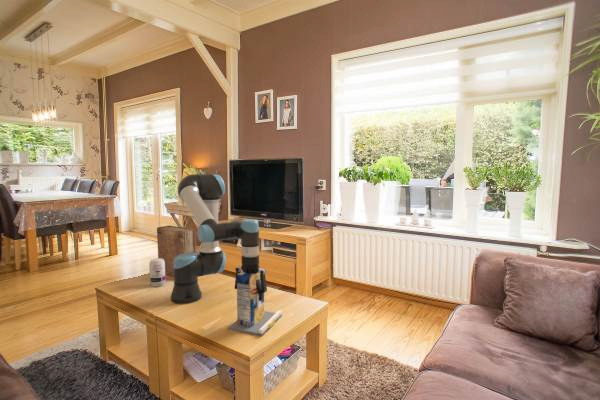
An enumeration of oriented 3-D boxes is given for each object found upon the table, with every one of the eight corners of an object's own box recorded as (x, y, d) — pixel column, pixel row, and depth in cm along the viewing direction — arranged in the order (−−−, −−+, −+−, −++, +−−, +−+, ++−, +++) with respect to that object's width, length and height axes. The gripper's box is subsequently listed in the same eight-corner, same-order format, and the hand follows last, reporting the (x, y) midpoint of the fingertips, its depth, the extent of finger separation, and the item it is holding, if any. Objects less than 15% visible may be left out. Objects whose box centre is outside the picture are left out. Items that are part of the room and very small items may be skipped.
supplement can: (160, 281, 201) (159, 257, 200) (168, 284, 196) (167, 259, 195) (147, 285, 195) (146, 260, 193) (155, 288, 190) (154, 262, 188)
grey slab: (228, 329, 141) (228, 324, 141) (250, 310, 160) (250, 305, 160) (263, 336, 136) (263, 330, 136) (282, 316, 155) (282, 310, 154)
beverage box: (237, 324, 144) (236, 274, 142) (251, 314, 154) (251, 267, 152) (250, 327, 141) (250, 276, 139) (264, 317, 151) (264, 269, 149)
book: (196, 275, 212) (195, 229, 210) (184, 279, 205) (183, 231, 202) (170, 269, 226) (169, 225, 223) (158, 272, 218) (156, 227, 215)
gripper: (225, 255, 145) (226, 306, 147) (267, 259, 138) (268, 313, 140) (234, 251, 152) (235, 299, 154) (275, 255, 145) (275, 306, 147)
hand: (250, 306), depth 147 cm, fingers open, 7 cm apart
